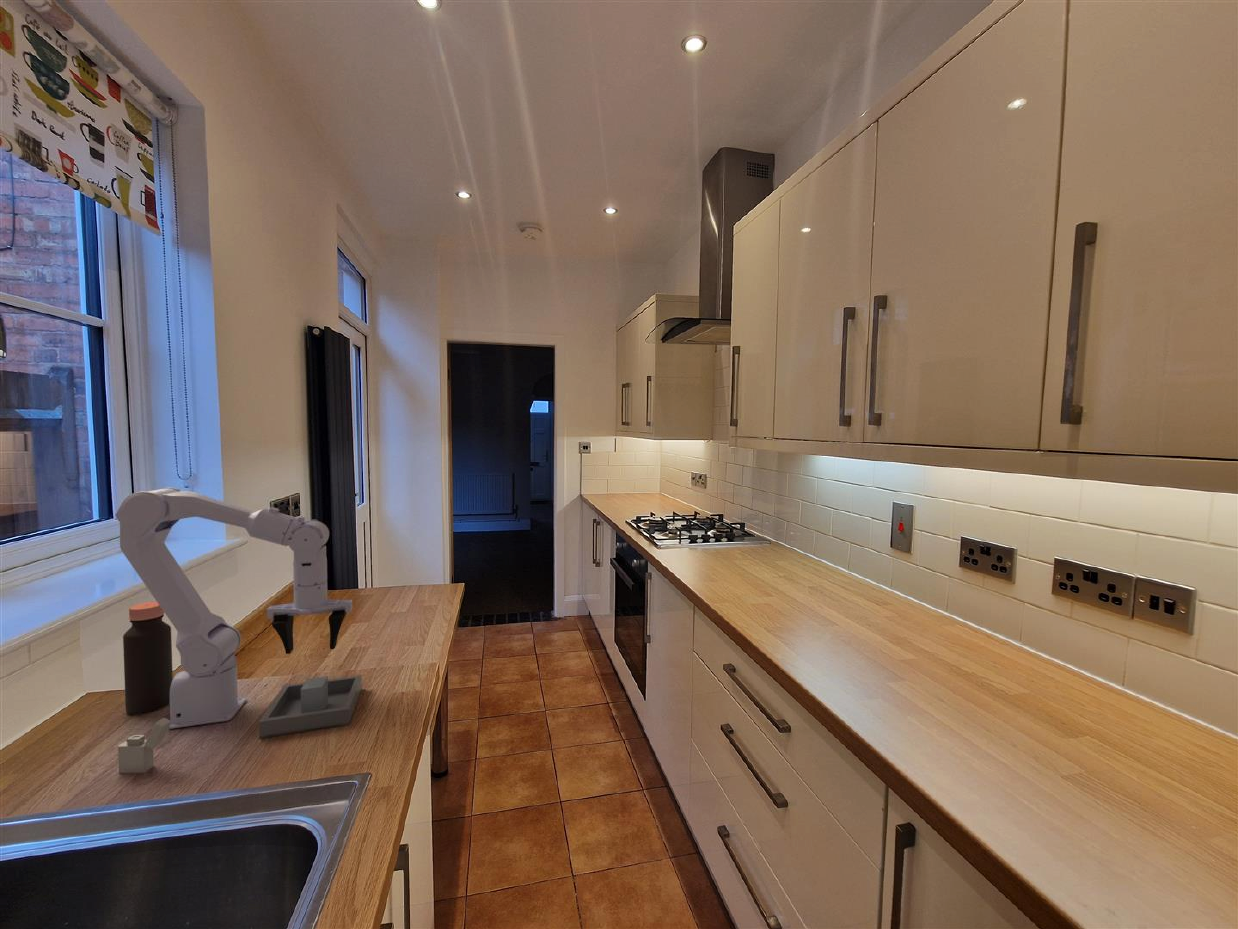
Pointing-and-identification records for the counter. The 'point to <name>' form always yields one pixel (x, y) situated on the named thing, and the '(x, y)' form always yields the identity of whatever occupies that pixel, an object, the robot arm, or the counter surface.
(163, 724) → the lighter
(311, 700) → the tall grey cuboid
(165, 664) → the bottle
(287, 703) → the dark grey square tray
